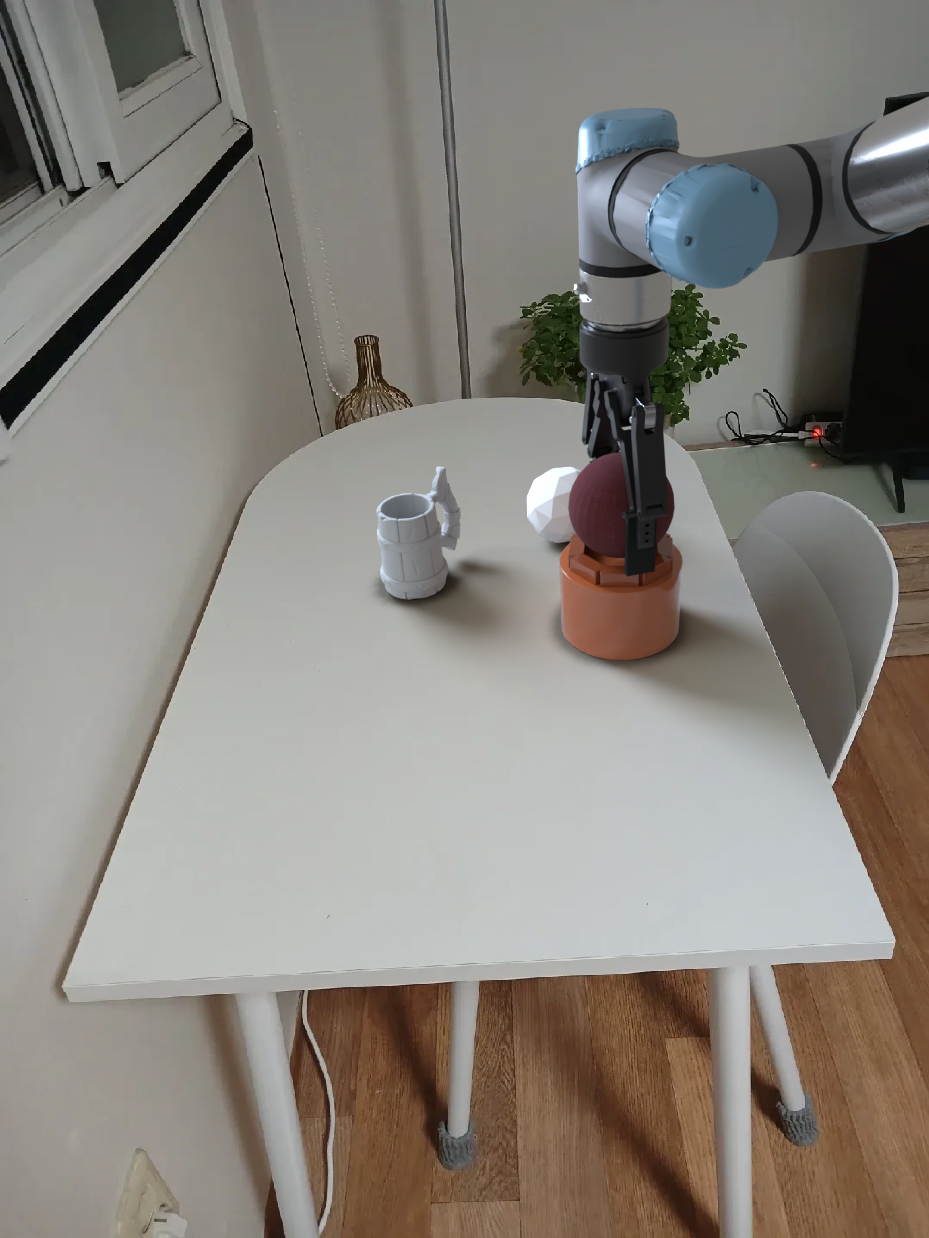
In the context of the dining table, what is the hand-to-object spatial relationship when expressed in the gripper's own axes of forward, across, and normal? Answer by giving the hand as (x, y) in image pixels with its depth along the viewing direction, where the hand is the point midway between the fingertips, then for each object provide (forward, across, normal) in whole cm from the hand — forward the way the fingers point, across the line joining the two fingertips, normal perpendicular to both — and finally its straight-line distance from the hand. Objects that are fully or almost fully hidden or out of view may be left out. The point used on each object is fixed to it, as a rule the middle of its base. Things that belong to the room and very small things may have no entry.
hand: (620, 543), depth 93 cm
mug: (+10, -16, -18) cm, 26 cm away
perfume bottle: (+10, -20, +1) cm, 22 cm away
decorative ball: (+1, 0, 0) cm, 1 cm away
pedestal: (+10, 0, 0) cm, 10 cm away
